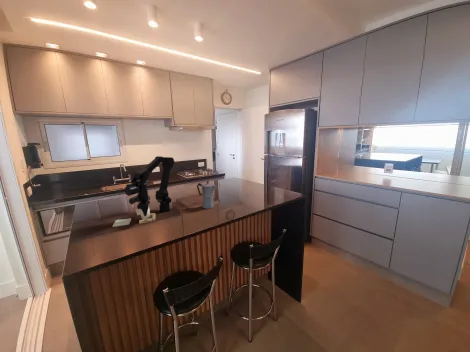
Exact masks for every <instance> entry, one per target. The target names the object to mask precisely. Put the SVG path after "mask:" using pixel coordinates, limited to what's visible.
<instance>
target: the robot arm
mask: <svg viewBox="0 0 470 352" xmlns="http://www.w3.org/2000/svg"><path fill="white" fill-rule="evenodd" d="M160 164H161V167H162V173H161V180H160V186H159V188H158V190H156V191H155V195H154V196H155V200H156V201H157V203H159V211H160V213H166V212H171V208H170V203H172V201H173V200H172V199H173V198H171V197H170V196H169V191H168V187H169V186H168V185H169V180H170V176H171V175H170V174H171V170H172V169H173V167H174V165H175V159H174V157H172V156H171V157H170V156H167V157H166V156H165V157H164V156H160V155H159V156H155V157H154V159H152V161H150V162H149V163H148V164H147V165H146V166H145V167H144V168H142V169H139V170H137V171H136V172H135V173H134V174H133V178H132V180H131V181H130V183H128V184H126V185H125V188H124V193H125V195H126V196H128V197H130V198H129V199H128V204H130V206H131V205H133V204H136V203H137V205H136V209H141V210H142V212H143V214H144V216H146V215H147V211H148V208H149V209H150V203H151V196H150V195H149V191H148V184H150V183H151V182H150V181H149V180H148V179H149V177H150V176H151V173H152V172H153V171H154V170H155V169H156V168H157V167H158V166H159V165H160ZM133 195H135V196H133Z"/></svg>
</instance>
